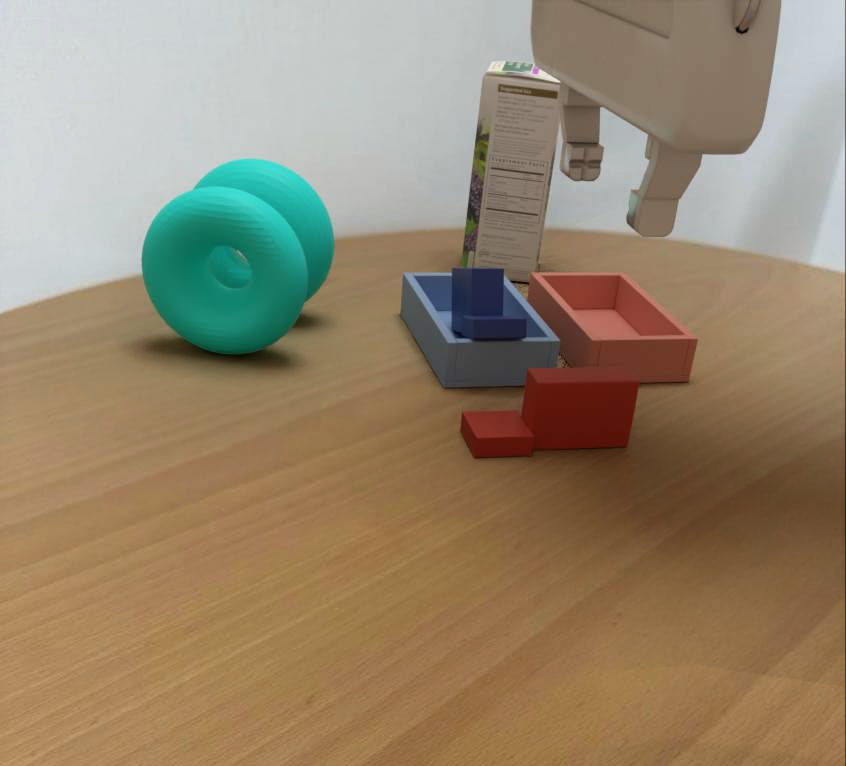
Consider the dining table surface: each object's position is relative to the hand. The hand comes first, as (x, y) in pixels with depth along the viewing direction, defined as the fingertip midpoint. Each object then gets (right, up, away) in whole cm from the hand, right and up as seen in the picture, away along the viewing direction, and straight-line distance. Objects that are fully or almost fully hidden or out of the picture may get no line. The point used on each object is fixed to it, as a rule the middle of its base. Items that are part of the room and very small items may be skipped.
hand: (610, 203), depth 57 cm
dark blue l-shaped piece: (-6, -4, +14) cm, 16 cm away
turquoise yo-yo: (-21, -4, +17) cm, 27 cm away
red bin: (+3, -4, +19) cm, 20 cm away
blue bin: (-6, -4, +17) cm, 19 cm away
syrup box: (-3, +4, +31) cm, 32 cm away
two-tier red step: (-3, -11, +6) cm, 13 cm away
